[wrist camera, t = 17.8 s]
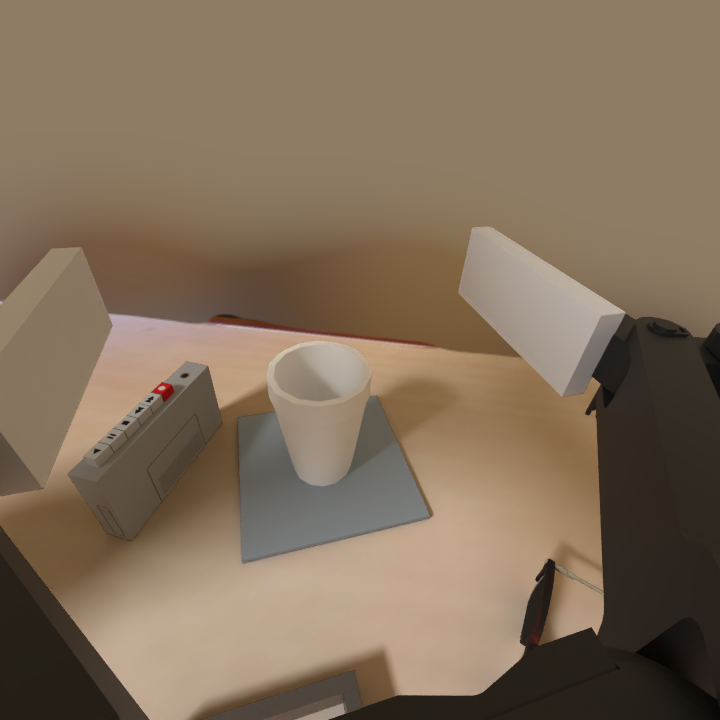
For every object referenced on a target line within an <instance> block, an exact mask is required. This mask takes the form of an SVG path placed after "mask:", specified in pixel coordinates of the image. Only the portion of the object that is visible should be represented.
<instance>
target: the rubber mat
mask: <svg viewBox="0 0 720 720" xmlns="http://www.w3.org/2000/svg"><path fill="white" fill-rule="evenodd" d="M238 442H239V478H240V514H241V549H242V563H247V562H251V561H255V560H259V559H263V558H267V557H272V556H276V555H280V554H284V553H288V552H292V551H296V550H301V549H305V548H309V547H313V546H317V545H321V544H326V543H330V542H334V541H338V540H342V539H346V538H350V537H355V536H359V535H363V534H367V533H371V532H375V531H379V530H384V529H388V528H392V527H396V526H400V525H404V524H408V523H413V522H417V521H421V520H425V519H429V518H430V514H429V512H428V509H427V507H426V505H425V503H424V500H423V498H422V496H421V494H420V491H419V489H418V487H417V485H416V482H415V480H414V478H413V476H412V474H411V471H410V469H409V467H408V465H407V462H406V460H405V458H404V456H403V453H402V451H401V449H400V447H399V444H398V442H397V440H396V438H395V435H394V433H393V431H392V429H391V426H390V424H389V422H388V420H387V417H386V415H385V413H384V411H383V408H382V406H381V404H380V402H379V400H378V397H377V396H371V397H369V398H368V400H367V402H366V405H365V410H364V414H363V418H362V422H361V426H360V430H359V434H358V439H357V443H356V447H355V451H354V455H353V459H352V463H351V466H350V468H349V470H348V472H347V475H346V476H345V477H343V478H342V479H341V480H340V481H338V482H337V483H335V484H331V485H327V486H316V485H310V484H308V483H306V482H305V481H303V480H302V479H300V478H299V476H298V475H297V473H296V471H295V469H294V466H293V464H292V461H291V458H290V455H289V451H288V448H287V445H286V442H285V439H284V436H283V433H282V430H281V427H280V424H279V420H278V417H277V414H276V412H269V413H263V414H256V415H250V416H244V417H238Z"/></svg>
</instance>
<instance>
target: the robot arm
mask: <svg viewBox="0 0 720 720" xmlns="http://www.w3.org/2000/svg"><path fill="white" fill-rule="evenodd" d="M458 293H459V294H460V295H461V296H462V297H463V298H464V299H465V300H466V301H467V302H468V303H469V304H470V305H471V306H472V307H473V308H474V309H475V310H476V311H477V312H478V313H479V314H480V315H481V316H482V317H483V318H484V319H485V320H486V321H487V322H488V323H489V324H490V325H491V326H492V327H493V328H494V329H495V330H496V331H497V332H498V333H499V334H500V335H501V336H502V338H503V339H504V340H506V342H507V343H509V344H510V346H512V348H513V349H514V350H516V351H517V353H518V354H519V355H520V356H521V357H522V358H523V359H524V360H525V361H526V362H527V363H528V364H529V365H530V366H531V367H532V368H533V369H534V370H535V371H536V372H537V373H538V374H539V375H540V376H541V377H542V378H543V379H544V380H545V381H546V382H547V383H548V384H549V385H550V386H551V387H552V388H553V389H554V390H555V391H556V392H557V393H558V394H559V395H560V396H561V397H566V396H571V395H577V394H583V393H584V391H585V389H586V388H587V386H588V384H589V382H590V380H591V378H592V377H593V378H595V379H596V380H597V381H598V382H599V383H600V384H601V385H600V387H599V389H598V390H597V392H596V394H595V396H594V398H593V399H592V401H591V403H590V405H589V407H588V408H587V410H586V413H585V414H586V415H590V413H591V411H593V410H596V416H595V417H596V419H597V443H598V468H599V492H600V516H601V541H602V565H603V590H604V615H603V621H602V624H601V626H600V629H599V632H598V635H596V634H595V632H594V631H593V629H592V628H588V629H585V630H583V631H580V632H577V633H574V634H571V635H568V636H566V637H563V638H560V639H557V640H554V641H551V642H548V643H546V644H543V645H540V646H537V647H534V648H533V649H532V650H531V651H530V652H529V653H527V654H526V655H525V656H524V657H523V658H522V659H521V660H519V661H518V662H517V663H516V664H515V665H514V666H513V667H511V668H510V669H509V670H508V671H507V672H506V673H505V674H503V675H502V676H501V677H500V678H499V679H498V680H497V681H496V682H494V683H493V684H492V685H491V686H490V687H489V688H488V689H486V690H485V691H484V692H483V693H481V694H478V695H474V696H422V695H397V696H395V697H392V698H389V699H386V700H383V701H380V702H378V703H375V704H372V705H369V706H366V707H363V708H360V709H358V710H355V711H352V712H349V713H346V714H343V715H341V716H338V717H335V718H332V719H329V720H720V323H719V324H716V326H715V327H714V328H713V330H712V331H711V333H710V334H709V336H708V337H707V338H698V337H693V336H692V335H691V334H690V333H689V331H687V329H685V328H683V327H681V326H680V325H677V324H675V323H673V322H671V321H668V320H664V319H660V318H654V317H642V318H639V319H637V320H635V319H633V318H631V317H630V316H628V315H627V314H625V312H624V311H622V310H621V309H619V308H618V307H616V306H614V305H613V304H611V303H610V302H608V301H606V300H605V299H603V298H602V297H600V296H599V295H597V294H596V293H594V292H592V291H591V290H589V289H588V288H586V287H584V286H583V285H581V284H580V283H578V282H577V281H575V280H573V279H572V278H570V277H569V276H567V275H566V274H564V273H562V272H561V271H559V270H558V269H556V268H555V267H553V266H551V265H550V264H548V263H547V262H545V261H544V260H542V259H540V258H539V257H537V256H536V255H534V254H532V253H531V252H529V251H528V250H526V249H525V248H523V247H521V246H520V245H518V244H517V243H515V242H514V241H512V240H510V239H509V238H507V237H506V236H504V235H503V234H501V233H499V232H498V231H496V230H495V229H493V228H491V227H475V228H472V232H471V237H470V241H469V246H468V250H467V255H466V260H465V264H464V269H463V273H462V278H461V282H460V287H459V292H458ZM112 326H113V325H112V323H111V320H110V318H109V315H108V313H107V310H106V308H105V305H104V303H103V300H102V298H101V295H100V293H99V290H98V288H97V285H96V283H95V280H94V278H93V275H92V273H91V270H90V268H89V265H88V263H87V260H86V258H85V255H84V253H83V250H82V248H81V247H77V248H57V249H51V250H50V252H49V253H48V254H47V255H46V256H45V257H44V258H43V259H42V260H41V261H40V262H39V264H38V265H37V266H36V267H35V268H34V269H33V270H32V271H31V272H30V273H29V274H28V275H27V277H26V278H25V279H24V280H23V281H22V282H21V283H20V284H19V285H18V286H17V287H16V289H15V290H14V291H13V292H12V293H11V294H10V295H9V296H8V297H7V299H6V300H5V301H4V302H3V303H2V304H1V305H0V496H5V495H11V494H16V493H22V492H28V491H33V490H39V489H43V488H44V486H45V484H46V481H47V479H48V476H49V474H50V472H51V469H52V467H53V465H54V462H55V460H56V458H57V455H58V453H59V451H60V448H61V446H62V443H63V441H64V439H65V436H66V434H67V432H68V429H69V427H70V425H71V422H72V420H73V418H74V415H75V413H76V410H77V408H78V406H79V403H80V401H81V399H82V396H83V394H84V392H85V389H86V387H87V385H88V382H89V380H90V377H91V375H92V373H93V370H94V368H95V366H96V363H97V361H98V359H99V356H100V354H101V352H102V349H103V347H104V344H105V342H106V340H107V337H108V335H109V333H110V330H111V328H112ZM0 720H149V719H148V717H147V716H146V715H145V713H144V712H143V711H142V709H141V708H140V707H139V706H138V704H137V703H136V702H135V700H134V699H133V698H132V696H131V695H130V694H129V693H128V691H127V690H126V689H125V687H124V686H123V685H122V683H121V682H120V681H119V680H118V678H117V677H116V676H115V674H114V673H113V672H112V670H111V669H110V668H109V667H108V665H107V664H106V663H105V661H104V660H103V659H102V657H101V656H100V655H99V654H98V652H97V651H96V650H95V648H94V647H93V646H92V645H91V643H90V642H89V641H88V639H87V638H86V637H85V635H84V634H83V633H82V632H81V630H80V629H79V628H78V626H77V625H76V624H75V622H74V621H73V620H72V619H71V617H70V616H69V615H68V613H67V612H66V611H65V609H64V608H63V607H62V606H61V604H60V603H59V602H58V600H57V599H56V598H55V596H54V595H53V594H52V593H51V591H50V590H49V589H48V587H47V586H46V585H45V583H44V582H43V581H42V580H41V578H40V577H39V576H38V574H37V573H36V572H35V571H34V569H33V568H32V567H31V565H30V564H29V563H28V561H27V560H26V559H25V558H24V556H23V555H22V554H21V552H20V551H19V550H18V548H17V547H16V546H15V545H14V543H13V542H12V541H11V539H10V538H9V537H8V535H7V534H6V533H5V532H4V530H3V529H2V528H1V526H0Z"/></svg>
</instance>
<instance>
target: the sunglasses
mask: <svg viewBox="0 0 720 720" xmlns="http://www.w3.org/2000/svg"><path fill="white" fill-rule="evenodd" d="M555 570H557V571H559V572H561V573H562V574H564V575H566V576H568V577H569V578H571V579H575V580H577V581H579V582H581V583H582V584H584V585H586V586H588V587H589V588H591V589H593V590H595V591H596V592H598V593H600V594H602V595H603V596H604V592H603V591H602V590H600V589H598V588H596V587H595V586H593V585H591V584H589V583H588V582H586V581H584V580H582V579H581V578H579V577H577V576H576V575H575V574H573V573H571V572H569V571H568V570H566V569H564V568H562V567H561V566H559V565H557V564H555V562H554V561H553V560H551V559H547V560H546V561H545V565H544V567H543V569H542V570H541V572H540V573H539V574H538V576H537V577H536V579H535V580H536V581H537V582H538V583H537V584H536V586H535V587H534V589H533V591H532V592H531V595H530V597H529V599H528V605H527V610H526V615H525V619H524V624H523V628H522V633H521V636H520V638H521V639H520V643H521V644H522V645H524V646H526V648H525V652H524V654H523V657H524V656H525V655H526V654H527V653H529V652H530V651H531V650H532V649H533V648H534V647H537V646H538V643H539V641H540V638H541V635H542V632H543V628H544V625H545V621H546V617H547V613H548V609H549V604H550V600H551V595H552V589H553V582H554V573H555ZM523 657H522V658H523ZM522 658H521V659H522Z"/></svg>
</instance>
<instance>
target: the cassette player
mask: <svg viewBox="0 0 720 720" xmlns="http://www.w3.org/2000/svg"><path fill="white" fill-rule="evenodd" d="M221 424H222V419H221V415H220V411H219V407H218V403H217V399H216V395H215V391H214V387H213V383H212V379H211V375H210V371H209V367H208V366H207V365H202V364H197V363H193V362H188V361H186V362H185V363H184V364H183V365H182V366H181V367H180V368H179V369H178V370H177V371H176V372H174V373H173V374H172V375H171V376H170V377H169V378H168V379H167V380H166V381H165V382H164V383H163V382H162V383H161V384H160V385H158V386H157V387H156V388H155V389H154V390H153V391H152V392H151V393H150V394H149V395H148V396H147V397H146V398H145V399H144V400H143V401H141V402H140V403H139V404H138V405H137V406H136V407H135V408H134V409H133V410H132V411H131V412H130V413H129V414H128V415H127V416H126V417H125V418H123V419H122V420H121V421H120V422H119V423H118V424H117V425H116V426H115V427H114V428H113V429H112V430H111V431H110V432H109V433H108V434H107V435H105V436H104V437H103V438H102V439H101V440H100V441H99V442H98V443H97V444H96V445H95V446H94V447H93V448H92V449H91V450H90V451H88V452H87V453H86V454H85V455H84V456H83V458H84V459H83V460H82V461H81V462H80V463H79V464H78V465H77V466H75V467H74V468H73V469H72V470H71V471H70V472H69V473H68V476H69V477H70V479H71V480H72V482H73V483H74V485H75V486H76V488H77V489H78V491H79V492H80V494H81V495H82V497H83V498H84V500H85V501H86V503H87V504H88V506H89V507H90V509H91V510H92V512H93V513H94V514H95V516H96V517H97V519H98V520H99V522H100V523H101V525H102V526H103V528H104V529H105V531H106V532H107V533H108V534H111V535H114V536H117V537H120V538H124V539H127V540H130V541H132V540H133V539H134V538H135V536H136V535H137V534H138V532H139V531H140V530H141V529H142V527H143V526H144V525H145V523H146V522H147V521H148V519H149V518H150V517H151V515H152V514H153V513H154V512H155V510H156V509H157V508H158V506H159V505H160V504H161V502H162V501H163V500H164V498H165V497H166V496H167V495H168V493H169V492H170V491H171V489H172V488H173V487H174V485H175V484H176V483H177V481H178V480H179V479H180V478H181V476H182V475H183V474H184V472H185V471H186V470H187V468H188V467H189V466H190V464H191V463H192V462H193V461H194V459H195V458H196V457H197V455H198V454H199V453H200V451H201V450H202V449H203V447H204V446H205V445H206V444H207V442H208V441H209V440H210V438H211V437H212V436H213V434H214V433H215V432H216V430H217V429H218V428H219V427H220V425H221Z"/></svg>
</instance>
